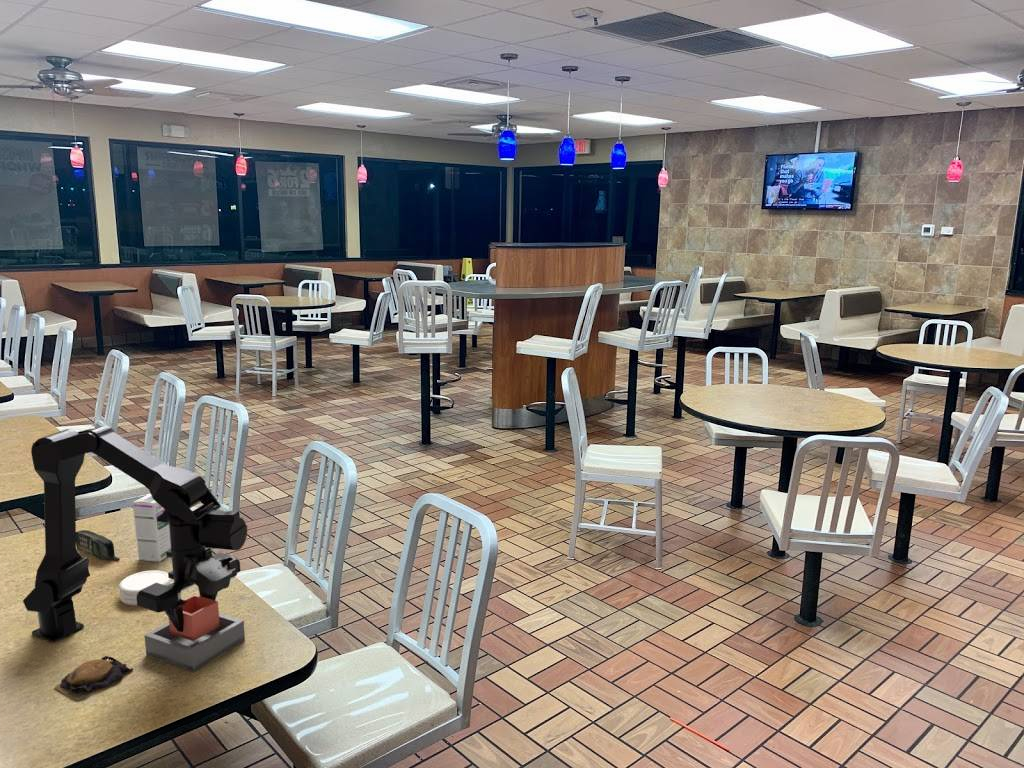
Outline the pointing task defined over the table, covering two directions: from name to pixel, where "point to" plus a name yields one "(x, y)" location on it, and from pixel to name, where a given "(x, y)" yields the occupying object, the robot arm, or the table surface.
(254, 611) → the table surface
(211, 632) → the big crate
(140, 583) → the white round container
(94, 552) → the mobile phone
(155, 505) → the syrup box
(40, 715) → the table surface
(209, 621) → the small crate
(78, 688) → the bread roll
